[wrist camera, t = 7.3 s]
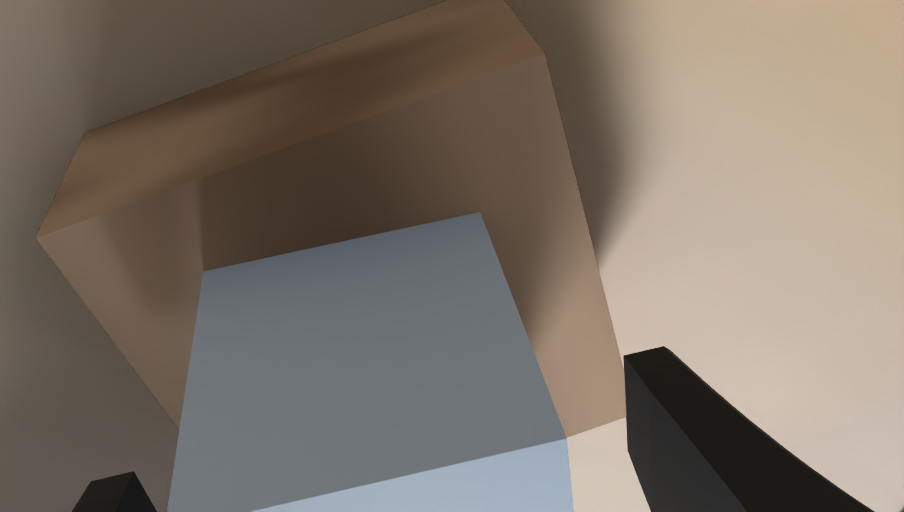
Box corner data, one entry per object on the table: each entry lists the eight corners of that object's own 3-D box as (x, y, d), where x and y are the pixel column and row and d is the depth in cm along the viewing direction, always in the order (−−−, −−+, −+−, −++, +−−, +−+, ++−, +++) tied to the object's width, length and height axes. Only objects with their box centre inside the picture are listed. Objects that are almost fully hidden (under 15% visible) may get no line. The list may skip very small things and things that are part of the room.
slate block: (278, 460, 16) (274, 730, 11) (203, 271, 13) (164, 531, 9) (509, 408, 16) (586, 654, 12) (479, 211, 13) (566, 437, 9)
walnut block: (266, 406, 20) (263, 543, 17) (88, 125, 15) (35, 237, 12) (576, 296, 20) (634, 414, 16) (488, -22, 15) (544, 53, 12)
